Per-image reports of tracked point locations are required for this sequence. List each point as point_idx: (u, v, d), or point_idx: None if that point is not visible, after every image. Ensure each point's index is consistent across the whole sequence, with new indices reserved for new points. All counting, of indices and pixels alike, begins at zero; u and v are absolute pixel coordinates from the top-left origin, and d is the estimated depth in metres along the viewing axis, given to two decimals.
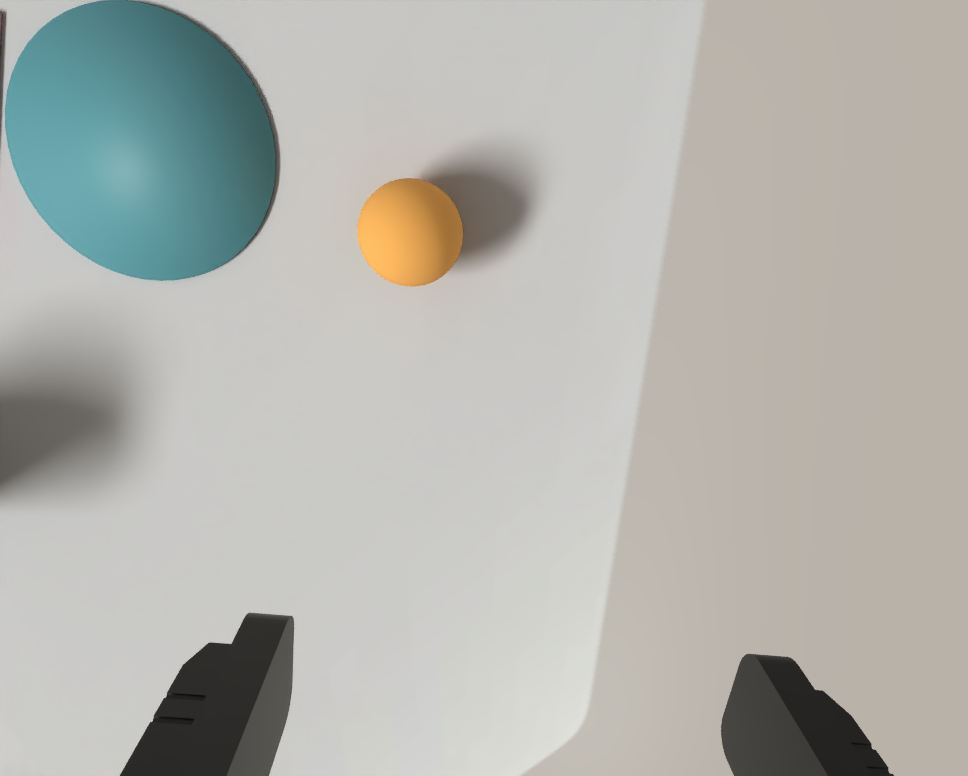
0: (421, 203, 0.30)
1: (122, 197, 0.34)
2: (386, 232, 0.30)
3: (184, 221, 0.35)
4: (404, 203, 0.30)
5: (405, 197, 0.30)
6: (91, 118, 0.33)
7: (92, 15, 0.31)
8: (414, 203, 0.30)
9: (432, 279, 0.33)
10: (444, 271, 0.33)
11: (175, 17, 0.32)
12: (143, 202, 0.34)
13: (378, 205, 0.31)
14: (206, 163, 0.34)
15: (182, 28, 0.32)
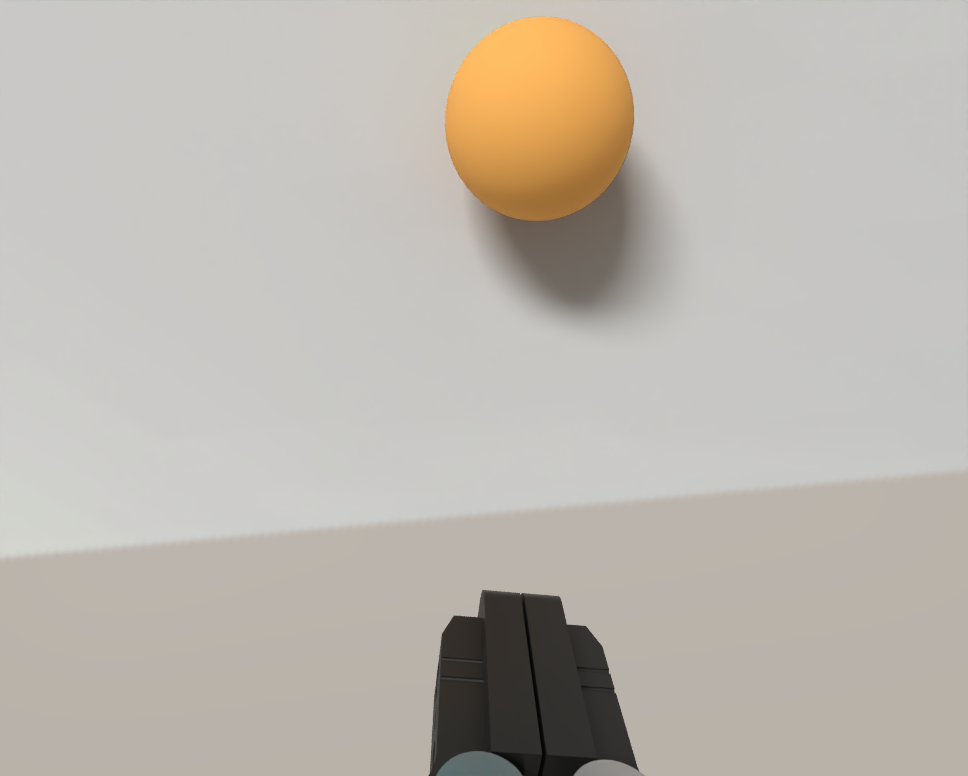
0: (609, 138, 0.17)
1: None
2: (554, 74, 0.16)
3: None
4: (607, 104, 0.16)
5: (616, 105, 0.16)
6: None
7: None
8: (609, 124, 0.16)
9: (469, 177, 0.18)
10: (487, 198, 0.18)
11: None
12: None
13: (595, 52, 0.16)
14: None
15: None
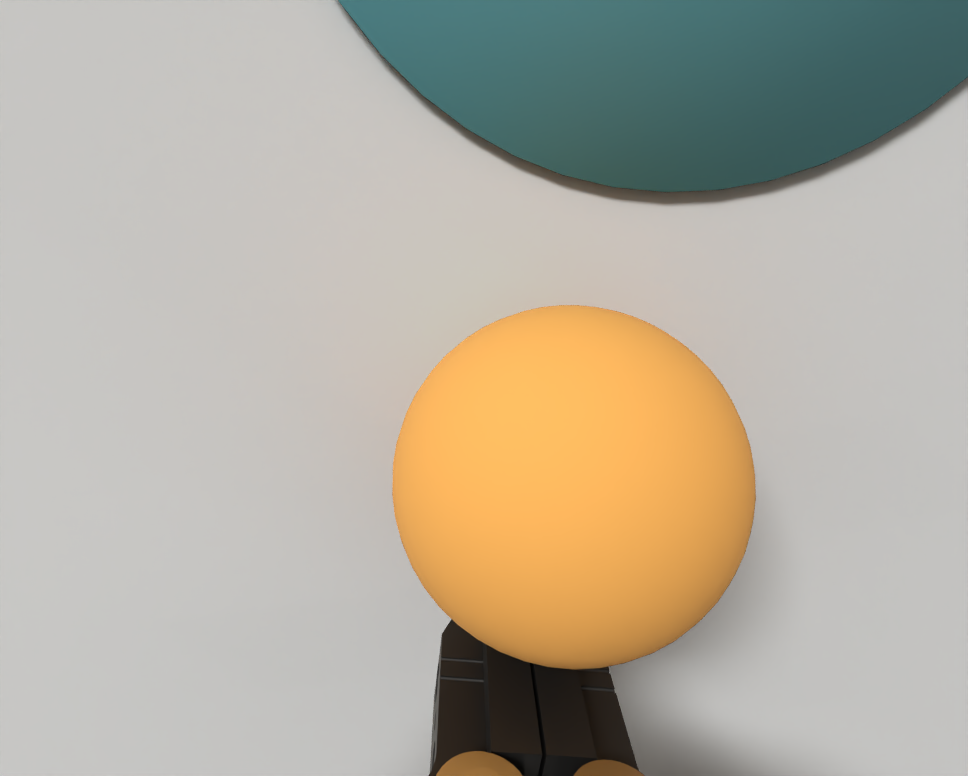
0: (730, 453, 0.08)
1: None
2: (606, 332, 0.08)
3: None
4: (713, 394, 0.08)
5: (726, 403, 0.08)
6: None
7: None
8: (724, 427, 0.08)
9: (432, 542, 0.08)
10: (468, 590, 0.08)
11: None
12: None
13: None
14: None
15: None
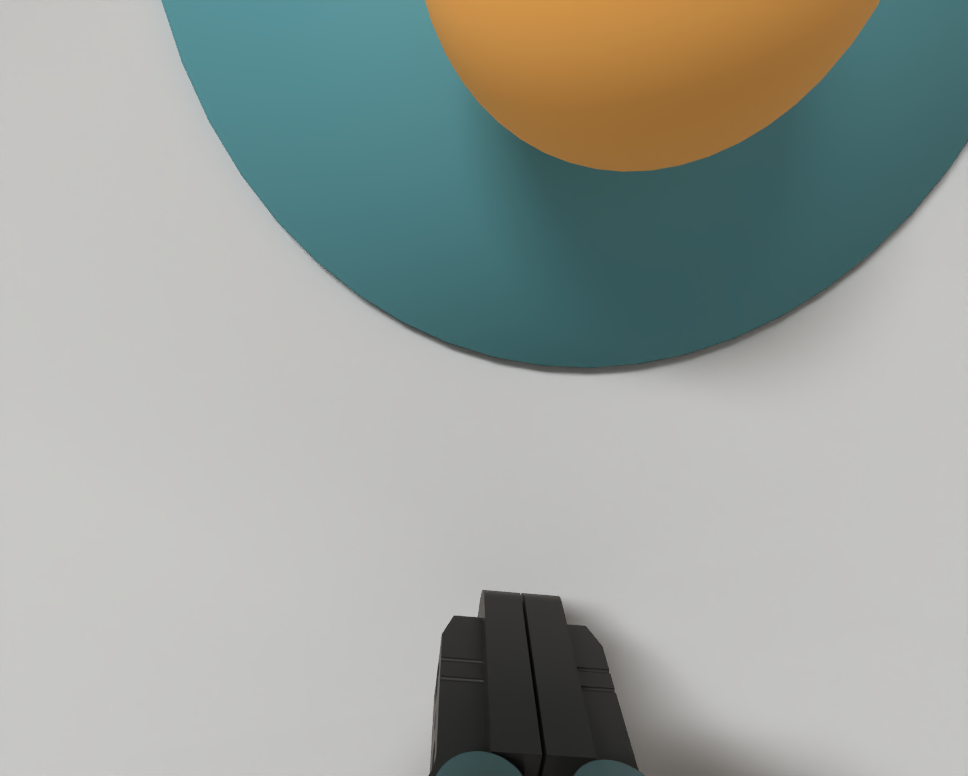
0: None
1: None
2: (592, 152, 0.07)
3: (393, 89, 0.10)
4: (703, 157, 0.08)
5: (730, 146, 0.08)
6: None
7: None
8: None
9: None
10: None
11: None
12: None
13: (723, 119, 0.07)
14: None
15: None
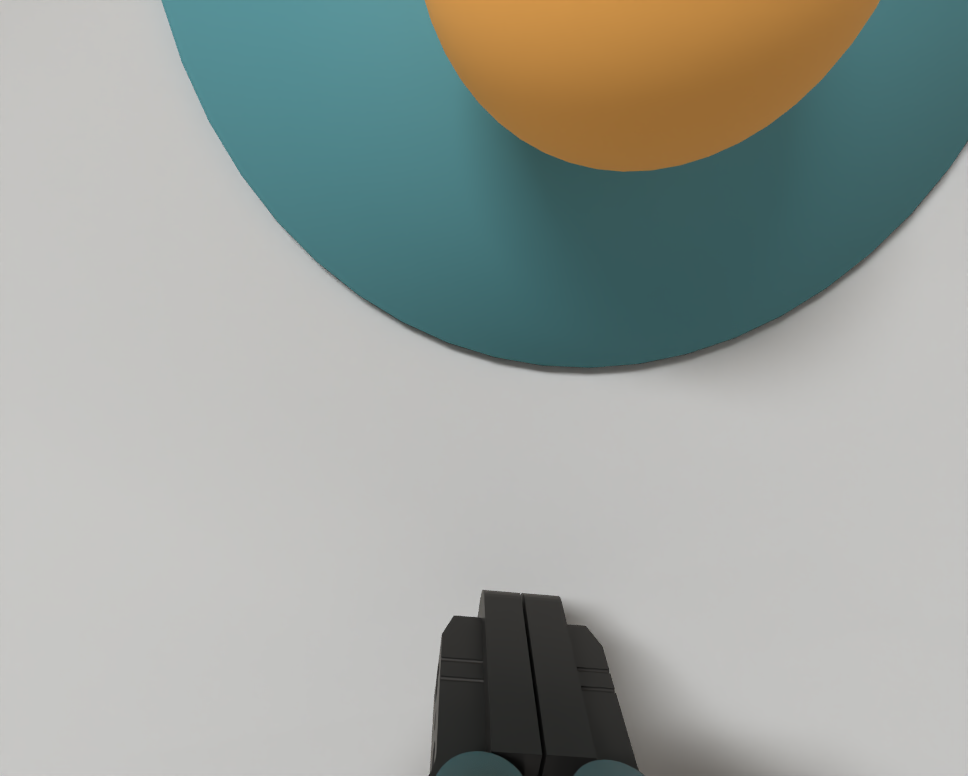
0: None
1: None
2: (592, 152, 0.07)
3: (393, 89, 0.10)
4: (703, 157, 0.08)
5: (730, 146, 0.08)
6: None
7: None
8: None
9: None
10: None
11: None
12: None
13: (723, 119, 0.07)
14: None
15: None
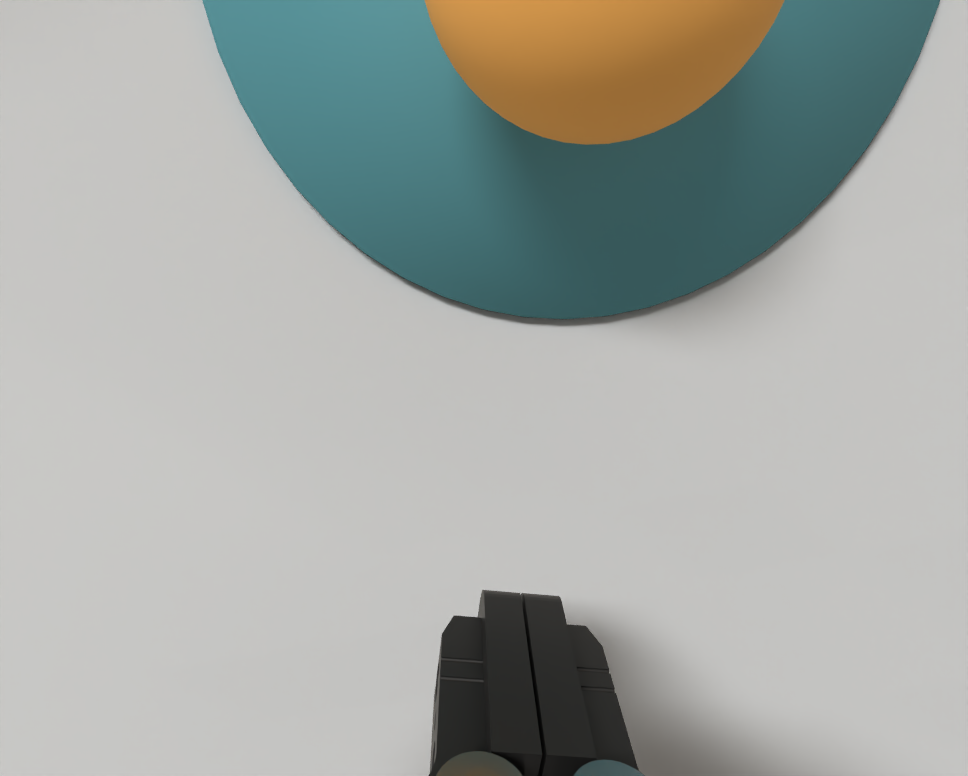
0: None
1: None
2: (558, 127, 0.09)
3: (396, 76, 0.12)
4: (649, 133, 0.10)
5: (671, 123, 0.10)
6: None
7: None
8: None
9: None
10: None
11: (910, 51, 0.12)
12: None
13: (658, 100, 0.09)
14: None
15: (881, 68, 0.12)
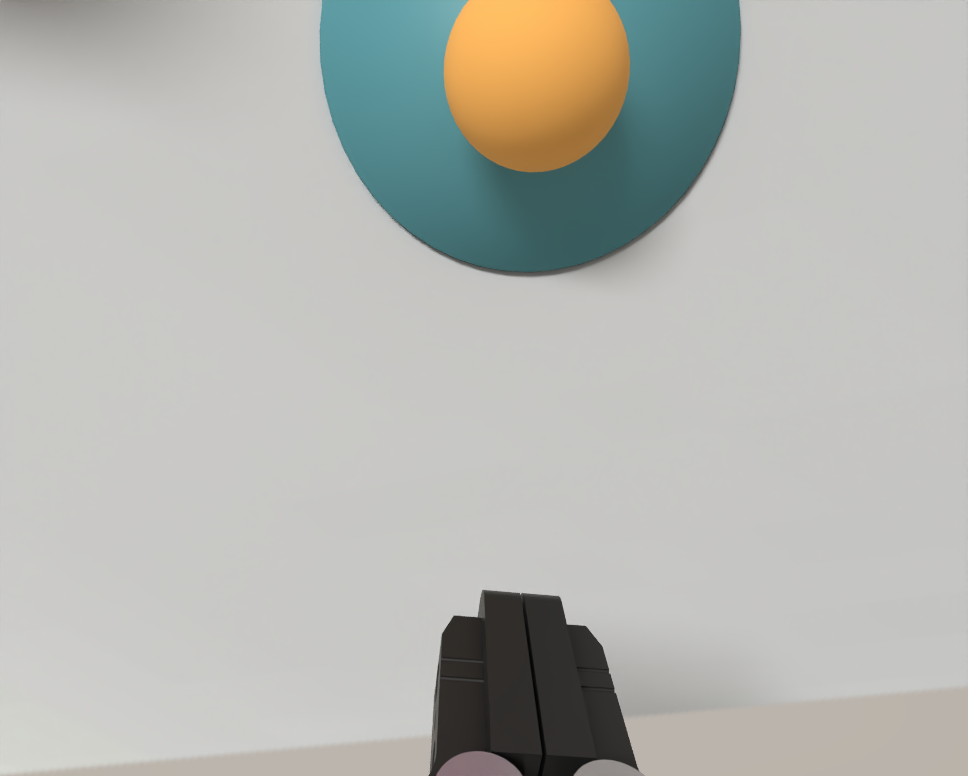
0: None
1: (451, 23, 0.20)
2: (514, 164, 0.19)
3: (430, 133, 0.21)
4: (562, 166, 0.19)
5: (573, 161, 0.19)
6: None
7: None
8: None
9: None
10: None
11: (720, 116, 0.22)
12: None
13: (559, 153, 0.18)
14: None
15: (706, 125, 0.22)
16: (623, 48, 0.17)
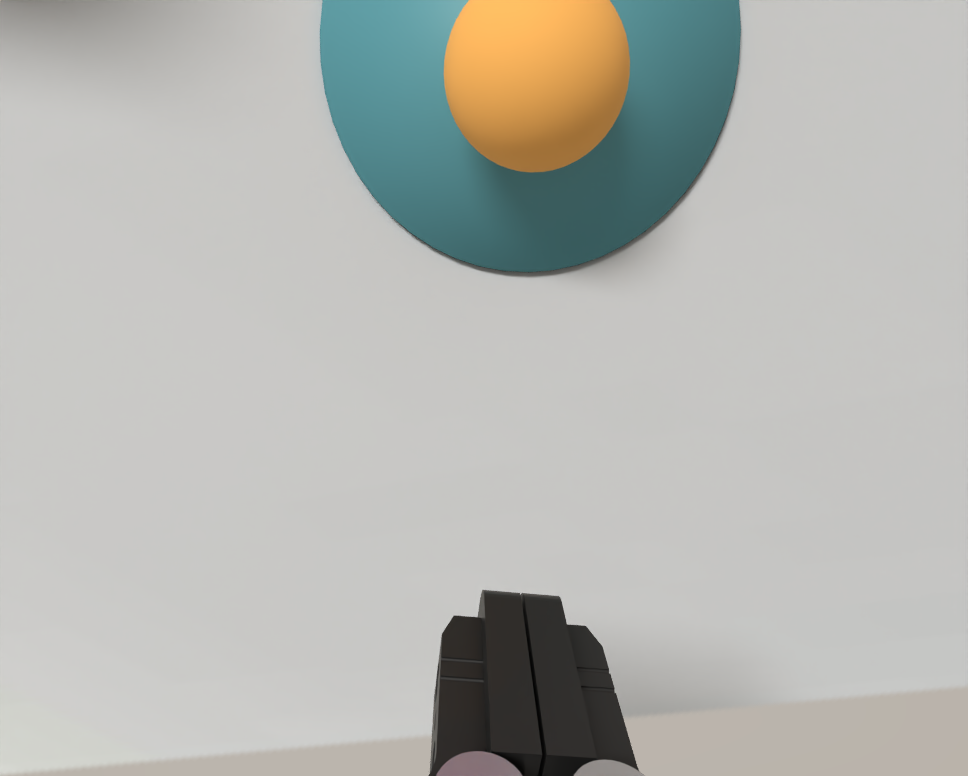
0: None
1: (451, 23, 0.20)
2: (514, 165, 0.19)
3: (430, 133, 0.21)
4: (562, 166, 0.19)
5: (573, 161, 0.19)
6: None
7: None
8: None
9: None
10: None
11: (720, 116, 0.22)
12: None
13: (559, 153, 0.18)
14: None
15: (706, 125, 0.22)
16: (623, 48, 0.17)
